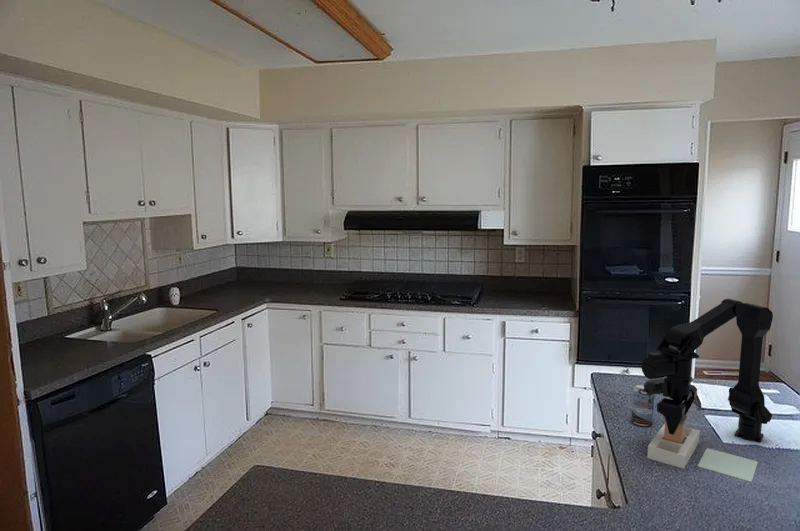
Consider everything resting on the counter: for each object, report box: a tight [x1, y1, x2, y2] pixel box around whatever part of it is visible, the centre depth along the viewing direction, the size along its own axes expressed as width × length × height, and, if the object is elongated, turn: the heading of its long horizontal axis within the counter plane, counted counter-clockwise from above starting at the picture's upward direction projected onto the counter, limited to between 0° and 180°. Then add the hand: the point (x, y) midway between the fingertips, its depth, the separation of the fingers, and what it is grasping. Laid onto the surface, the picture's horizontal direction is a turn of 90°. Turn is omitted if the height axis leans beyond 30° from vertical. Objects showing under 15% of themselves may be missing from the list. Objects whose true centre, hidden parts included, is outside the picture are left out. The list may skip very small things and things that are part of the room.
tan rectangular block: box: [664, 415, 688, 444], centre depth 149 cm, size 5×5×10 cm
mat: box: [697, 447, 759, 483], centre depth 142 cm, size 12×12×1 cm
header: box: [646, 423, 701, 469], centre depth 150 cm, size 18×9×4 cm, turn 140°
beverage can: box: [630, 384, 656, 427], centre depth 166 cm, size 6×7×12 cm
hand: (675, 427), depth 149 cm, fingers open, 9 cm apart
